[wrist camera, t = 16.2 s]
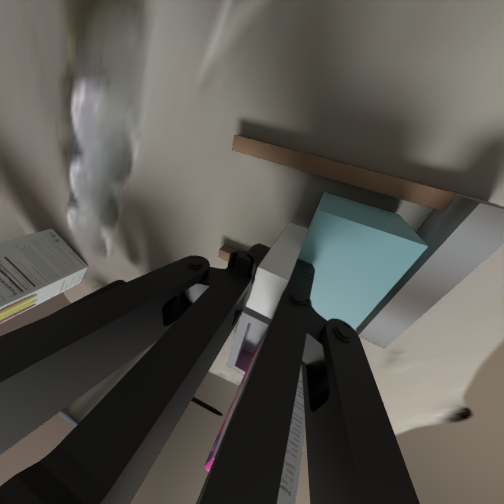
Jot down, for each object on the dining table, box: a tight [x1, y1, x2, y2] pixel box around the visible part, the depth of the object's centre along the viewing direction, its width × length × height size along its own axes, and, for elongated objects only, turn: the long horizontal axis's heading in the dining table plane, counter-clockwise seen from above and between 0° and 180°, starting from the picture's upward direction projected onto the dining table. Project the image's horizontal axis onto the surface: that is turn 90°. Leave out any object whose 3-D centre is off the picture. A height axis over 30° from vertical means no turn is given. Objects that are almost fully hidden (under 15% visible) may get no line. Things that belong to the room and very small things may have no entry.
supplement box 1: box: [0, 228, 88, 324], centre depth 29 cm, size 10×9×17 cm
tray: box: [227, 303, 271, 375], centre depth 21 cm, size 11×11×4 cm
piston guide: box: [218, 135, 504, 348], centre depth 14 cm, size 11×16×3 cm
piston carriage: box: [298, 192, 428, 330], centre depth 13 cm, size 7×5×5 cm
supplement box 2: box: [204, 338, 306, 504], centre depth 17 cm, size 6×6×12 cm
